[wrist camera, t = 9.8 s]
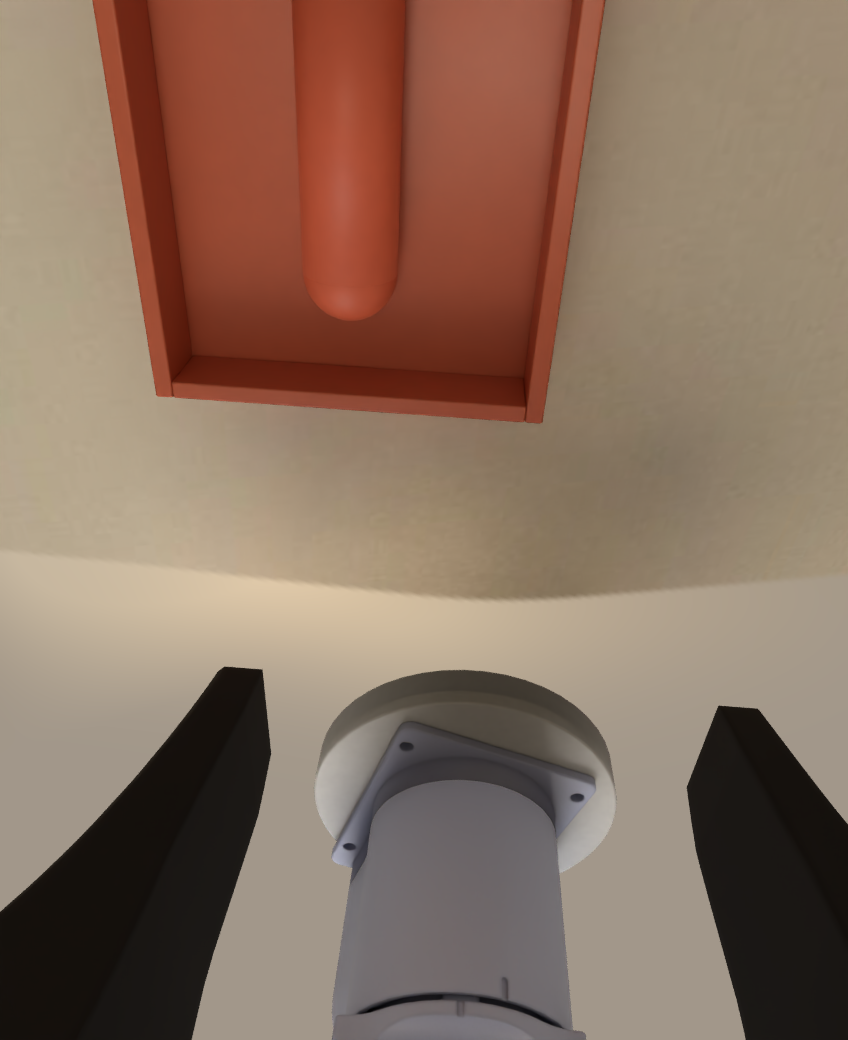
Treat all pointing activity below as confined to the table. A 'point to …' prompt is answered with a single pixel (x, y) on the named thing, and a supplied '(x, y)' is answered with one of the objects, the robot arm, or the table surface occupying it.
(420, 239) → the red tray
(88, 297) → the table surface
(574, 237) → the table surface
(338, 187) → the red spoon
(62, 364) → the table surface
